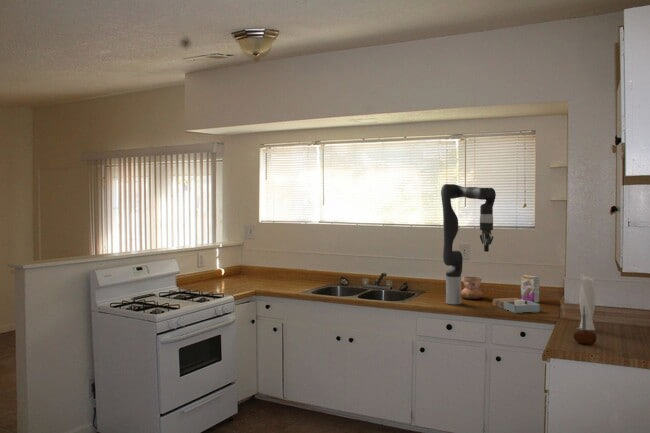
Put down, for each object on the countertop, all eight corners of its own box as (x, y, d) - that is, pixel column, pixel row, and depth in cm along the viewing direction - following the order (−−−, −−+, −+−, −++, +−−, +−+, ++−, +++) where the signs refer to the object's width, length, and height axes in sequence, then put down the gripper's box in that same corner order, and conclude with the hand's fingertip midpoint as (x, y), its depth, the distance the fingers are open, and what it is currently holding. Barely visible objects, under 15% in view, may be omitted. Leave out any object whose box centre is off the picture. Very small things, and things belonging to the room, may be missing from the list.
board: (492, 305, 348) (492, 298, 348) (516, 304, 351) (516, 297, 351) (503, 309, 335) (503, 302, 335) (527, 307, 338) (527, 301, 338)
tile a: (514, 300, 334) (517, 300, 331) (522, 299, 335) (524, 300, 332) (514, 308, 334) (517, 309, 331) (522, 308, 335) (524, 308, 332)
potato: (592, 347, 247) (592, 332, 247) (570, 343, 253) (570, 329, 253) (598, 344, 252) (598, 330, 251) (577, 340, 258) (577, 326, 258)
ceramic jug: (476, 301, 361) (477, 279, 361) (455, 298, 371) (456, 277, 370) (487, 298, 375) (488, 276, 375) (467, 295, 385) (468, 274, 384)
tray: (503, 309, 335) (503, 301, 335) (527, 307, 338) (528, 300, 338) (515, 313, 322) (515, 305, 322) (540, 312, 325) (540, 304, 325)
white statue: (574, 327, 286) (574, 273, 285) (589, 327, 286) (589, 272, 286) (583, 331, 277) (583, 275, 277) (598, 331, 278) (599, 274, 277)
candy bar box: (520, 300, 363) (520, 275, 363) (525, 299, 365) (525, 274, 365) (534, 303, 353) (534, 277, 353) (539, 302, 356) (539, 276, 355)
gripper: (475, 221, 333) (475, 250, 333) (485, 222, 320) (485, 252, 321) (486, 221, 334) (486, 250, 335) (498, 222, 322) (497, 252, 322)
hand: (486, 251), depth 328 cm, fingers closed
